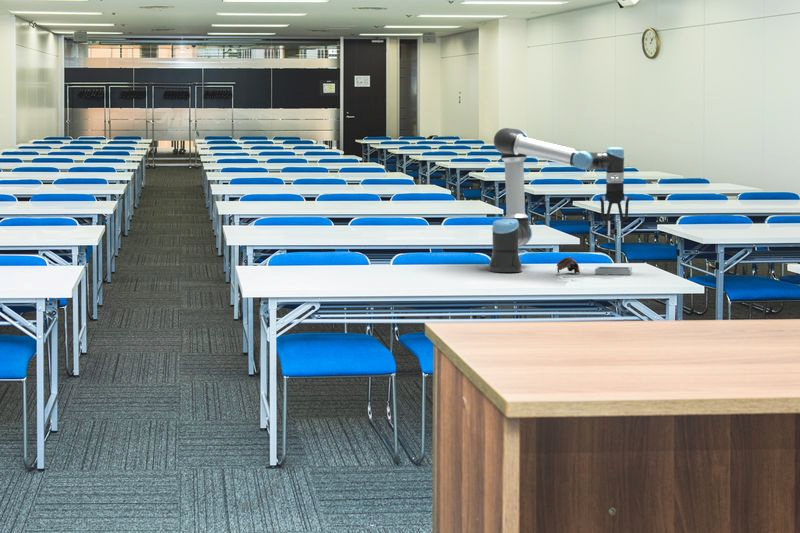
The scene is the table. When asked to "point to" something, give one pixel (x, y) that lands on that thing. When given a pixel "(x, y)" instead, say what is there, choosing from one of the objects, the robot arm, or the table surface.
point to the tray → (613, 271)
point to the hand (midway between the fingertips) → (614, 235)
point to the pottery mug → (568, 265)
